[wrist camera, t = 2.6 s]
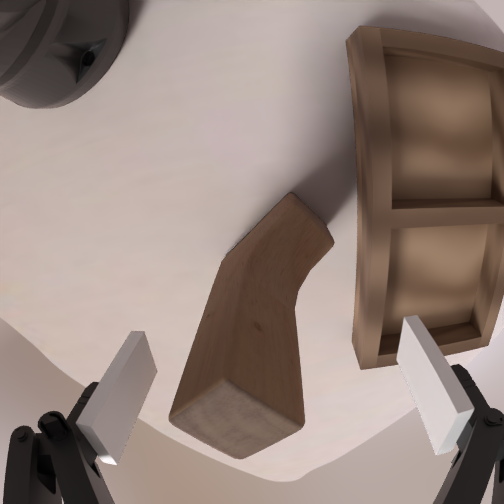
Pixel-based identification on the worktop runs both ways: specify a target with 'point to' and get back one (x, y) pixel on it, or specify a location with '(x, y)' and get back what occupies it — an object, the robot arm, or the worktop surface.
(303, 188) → the worktop surface
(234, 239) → the worktop surface
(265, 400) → the wooden block
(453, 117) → the tray
